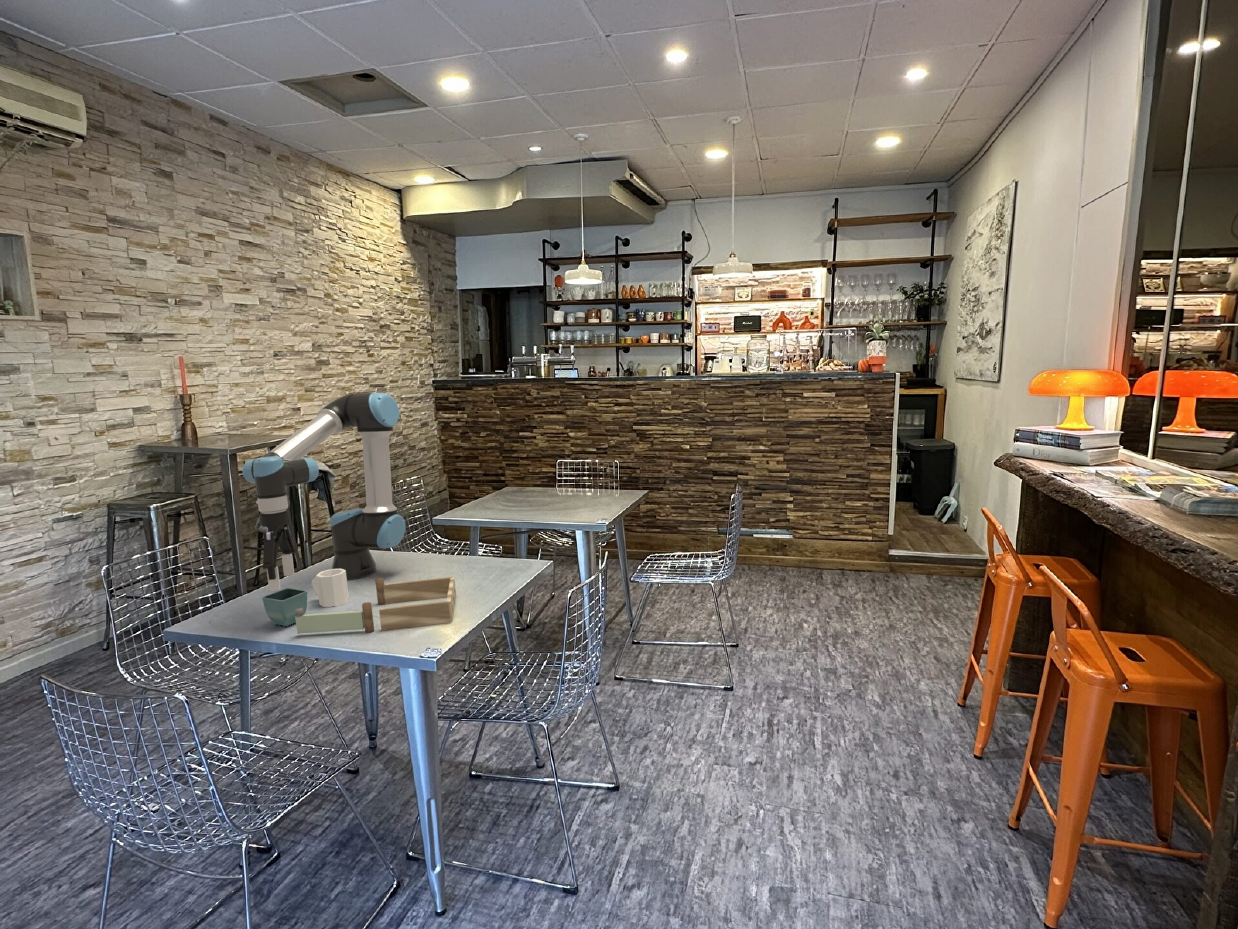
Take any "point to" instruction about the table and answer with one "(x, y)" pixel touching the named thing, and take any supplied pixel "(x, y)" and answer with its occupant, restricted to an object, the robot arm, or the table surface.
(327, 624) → the gate
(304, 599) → the flower pot
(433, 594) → the wooden u-shaped enclosure
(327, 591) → the mug
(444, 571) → the table surface
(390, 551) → the table surface
